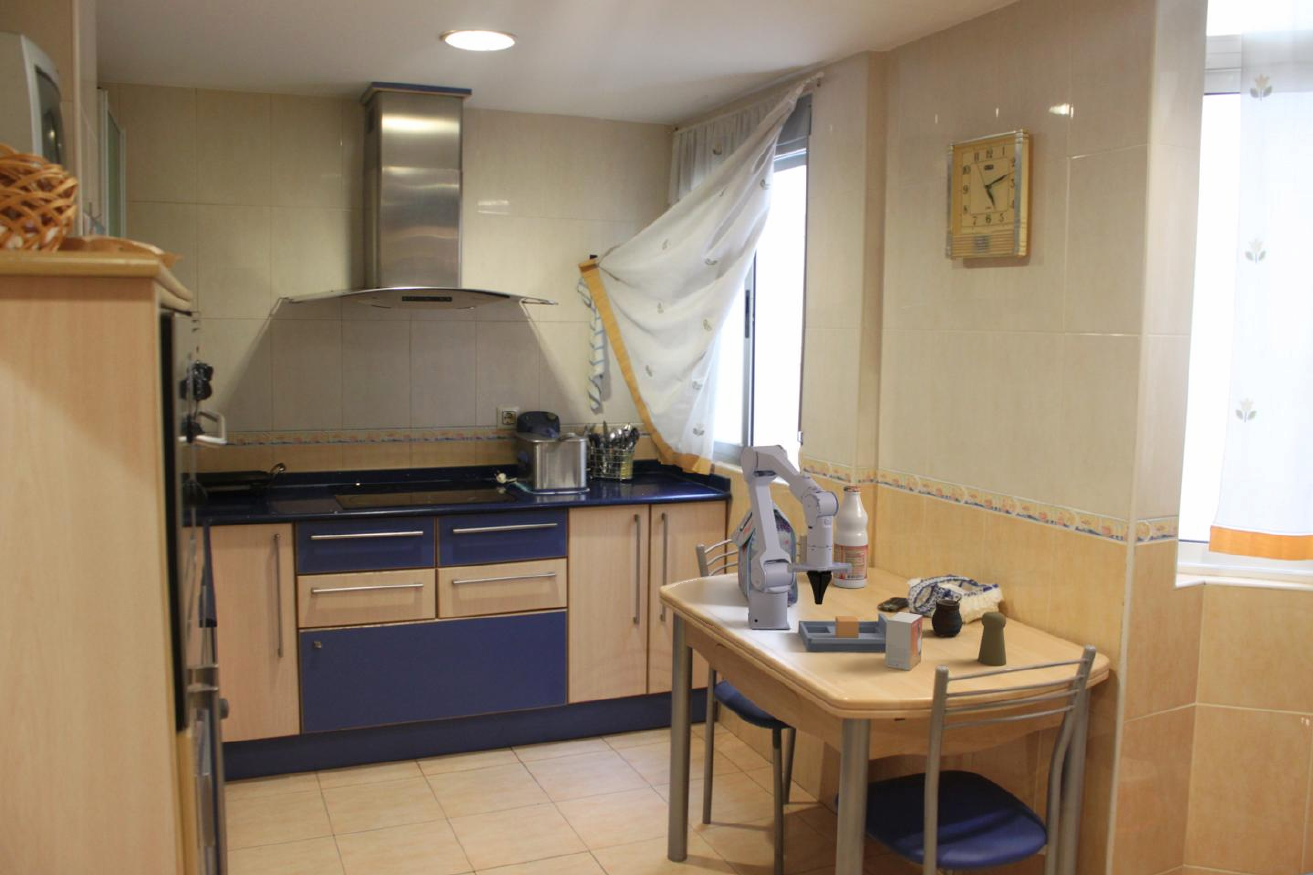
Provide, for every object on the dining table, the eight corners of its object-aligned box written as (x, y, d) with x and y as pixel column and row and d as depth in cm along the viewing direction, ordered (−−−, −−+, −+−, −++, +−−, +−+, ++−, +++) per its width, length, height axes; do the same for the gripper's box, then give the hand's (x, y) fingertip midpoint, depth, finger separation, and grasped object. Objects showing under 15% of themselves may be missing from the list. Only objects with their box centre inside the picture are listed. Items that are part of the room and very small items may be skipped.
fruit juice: (826, 584, 308) (828, 486, 305) (846, 579, 315) (848, 483, 312) (853, 590, 302) (856, 490, 299) (873, 585, 308) (876, 487, 305)
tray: (807, 651, 245) (808, 630, 244) (798, 632, 260) (798, 612, 259) (896, 652, 245) (897, 630, 245) (881, 633, 260) (882, 612, 260)
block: (838, 640, 247) (839, 621, 246) (835, 635, 251) (835, 616, 251) (858, 640, 247) (859, 621, 246) (854, 635, 251) (855, 616, 251)
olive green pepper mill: (973, 657, 242) (975, 609, 241) (999, 657, 242) (1002, 608, 241) (983, 666, 236) (985, 616, 235) (1011, 665, 236) (1013, 616, 235)
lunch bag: (728, 586, 305) (729, 493, 302) (787, 586, 306) (790, 493, 303) (737, 607, 283) (738, 506, 280) (801, 607, 283) (804, 507, 280)
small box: (909, 671, 232) (911, 623, 231) (884, 666, 235) (885, 619, 234) (921, 661, 239) (923, 614, 237) (897, 657, 242) (898, 610, 240)
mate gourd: (940, 628, 265) (942, 588, 264) (968, 635, 260) (971, 594, 259) (924, 633, 260) (926, 592, 259) (953, 641, 255) (955, 599, 254)
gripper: (790, 548, 243) (789, 607, 244) (855, 548, 243) (853, 608, 245) (785, 542, 250) (784, 600, 251) (848, 542, 250) (847, 600, 252)
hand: (818, 603), depth 248 cm, fingers closed
